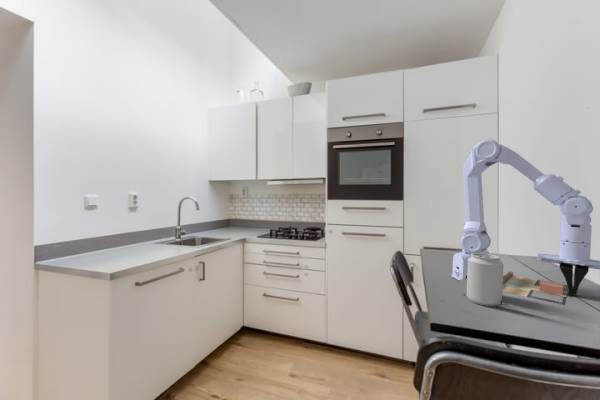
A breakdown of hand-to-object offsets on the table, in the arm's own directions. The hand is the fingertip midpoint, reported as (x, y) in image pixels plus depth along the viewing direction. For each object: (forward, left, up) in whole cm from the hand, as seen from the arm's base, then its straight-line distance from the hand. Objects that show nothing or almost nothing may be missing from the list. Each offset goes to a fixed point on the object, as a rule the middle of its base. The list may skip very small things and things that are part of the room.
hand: (572, 293), depth 72 cm
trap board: (-6, +6, -2) cm, 8 cm away
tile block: (-3, +3, 0) cm, 4 cm away
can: (-24, -2, -2) cm, 25 cm away
